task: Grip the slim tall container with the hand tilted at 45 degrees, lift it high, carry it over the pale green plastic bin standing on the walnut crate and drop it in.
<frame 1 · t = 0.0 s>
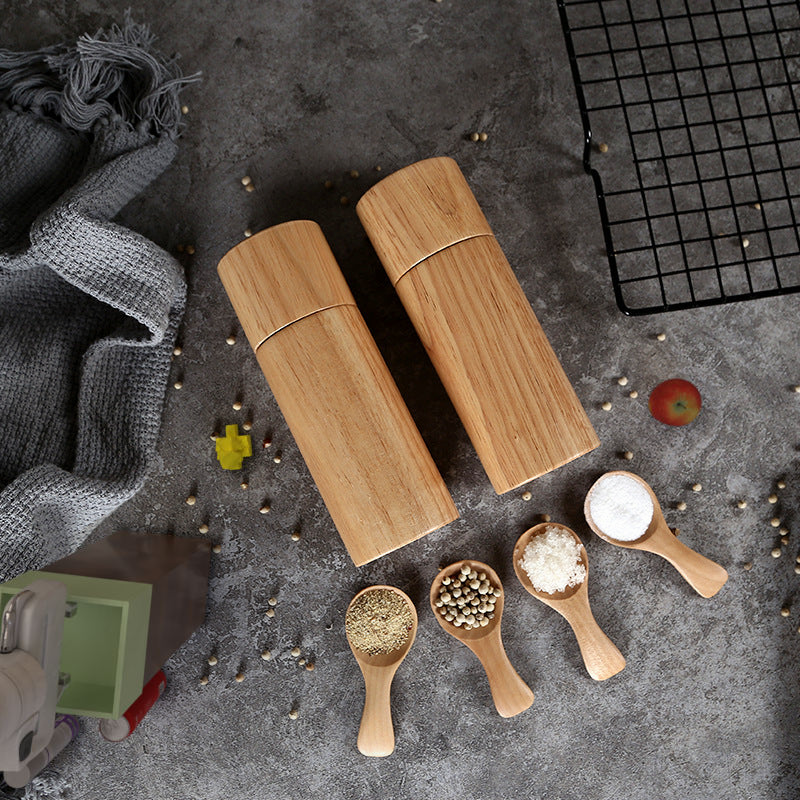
hand: (68, 642, 84), 33 cm above the counter, tool pointing down, fingers open, 8 cm apart
yellow cross puzzle piece: (235, 446, 117), on the counter
stand: (162, 575, 117), on the counter
beverage can: (152, 681, 118), on the counter
bin: (86, 631, 90), resting on stand
container: (68, 725, 119), on the counter
apple: (663, 401, 114), on the counter
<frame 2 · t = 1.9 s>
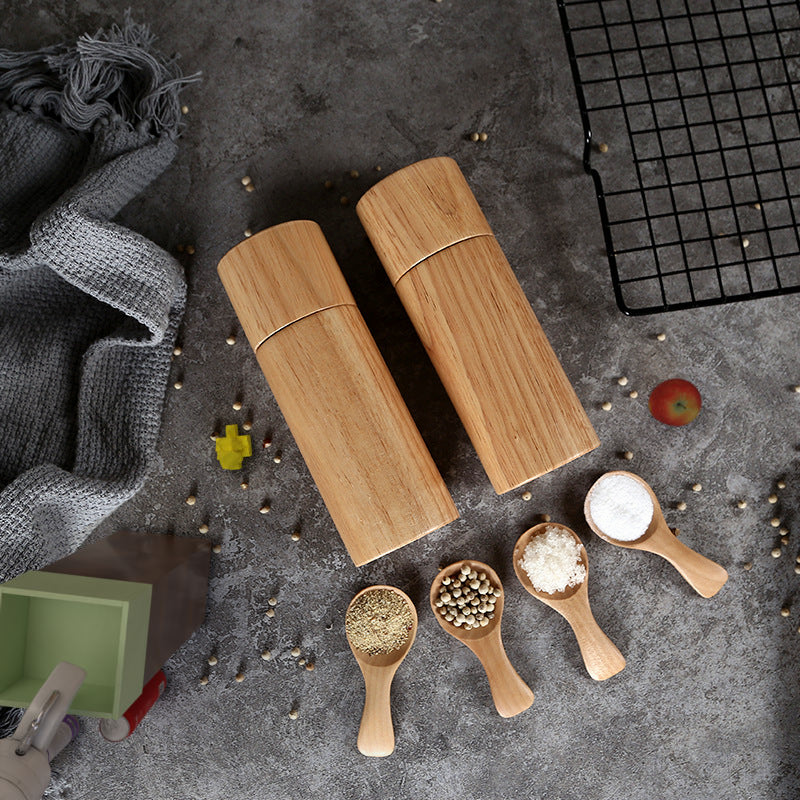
hand: (65, 691, 85), 33 cm above the counter, tool tilted 15°, fingers closed, pressing on bin
nothing on the counter moved.
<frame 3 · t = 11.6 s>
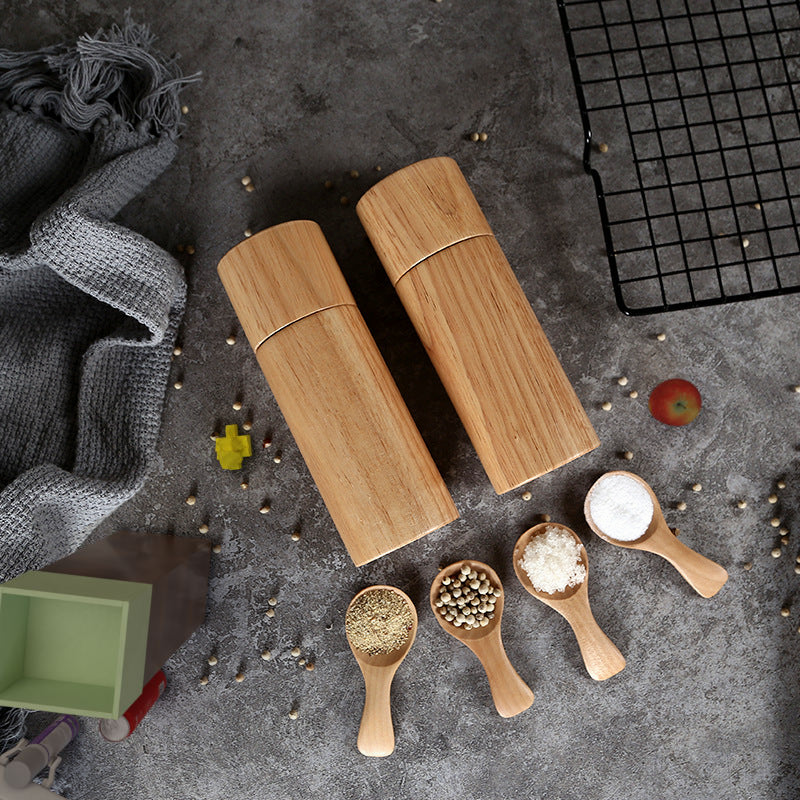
hand: (42, 748, 110), 8 cm above the counter, tool tilted 45°, fingers closed on container, 4 cm apart
container: (68, 725, 119), on the counter, touching gripper
everything else where it was.
when the fingers open (40 cm above the counter, at t = 22.7 s): container drops 4 cm, resting on bin.
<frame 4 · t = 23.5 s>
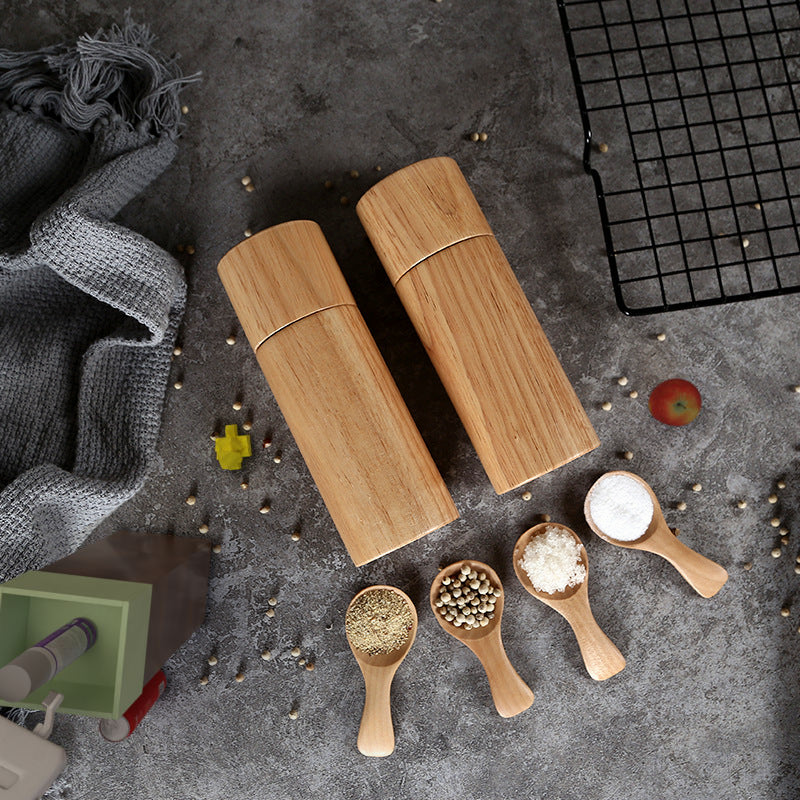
hand: (23, 674, 76), 42 cm above the counter, tool tilted 45°, fingers open, 8 cm apart
container: (82, 632, 90), point 28 cm above the counter, touching bin
everything else where it was.
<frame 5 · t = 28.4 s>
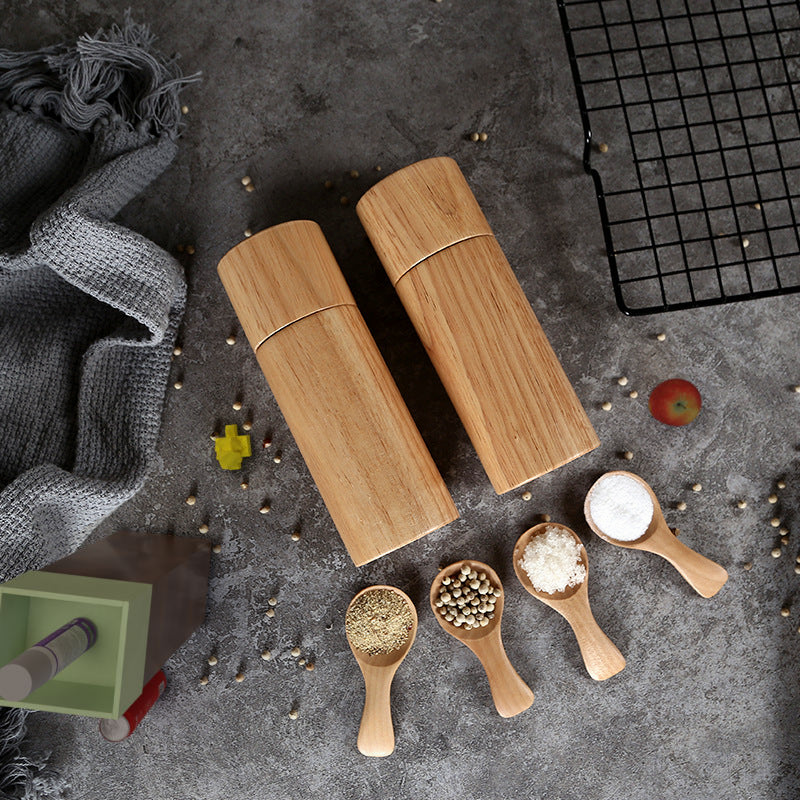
nothing on the counter moved.
at the end: container inside the target area on the bin (0.2 cm from its centre), point 0.6 cm above the bin's base; the gripper is holding nothing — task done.
